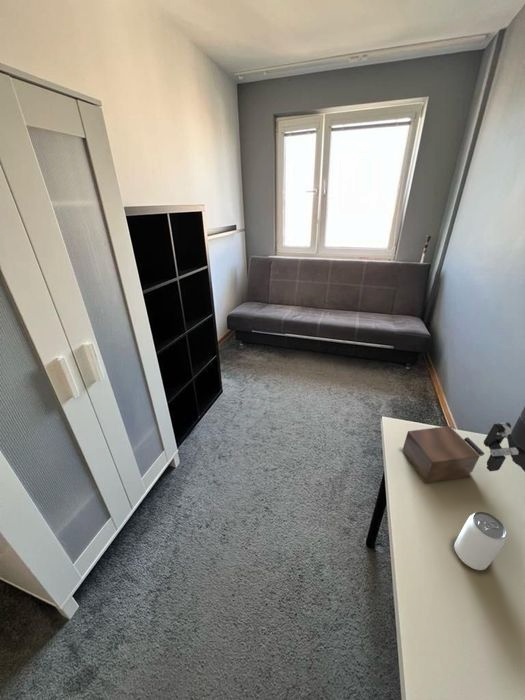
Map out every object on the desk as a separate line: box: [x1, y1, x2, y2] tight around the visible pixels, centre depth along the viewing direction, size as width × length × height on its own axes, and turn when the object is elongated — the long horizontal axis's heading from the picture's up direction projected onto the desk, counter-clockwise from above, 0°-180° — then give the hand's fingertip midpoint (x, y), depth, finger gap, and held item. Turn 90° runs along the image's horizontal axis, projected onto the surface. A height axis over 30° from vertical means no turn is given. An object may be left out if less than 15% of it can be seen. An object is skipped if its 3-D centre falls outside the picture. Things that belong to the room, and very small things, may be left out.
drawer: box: [451, 428, 485, 473], centre depth 83 cm, size 17×10×7 cm, turn 97°
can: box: [454, 510, 507, 571], centre depth 60 cm, size 6×6×12 cm
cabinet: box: [401, 425, 480, 483], centre depth 83 cm, size 14×12×9 cm
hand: (511, 488), depth 52 cm, fingers open, 8 cm apart
